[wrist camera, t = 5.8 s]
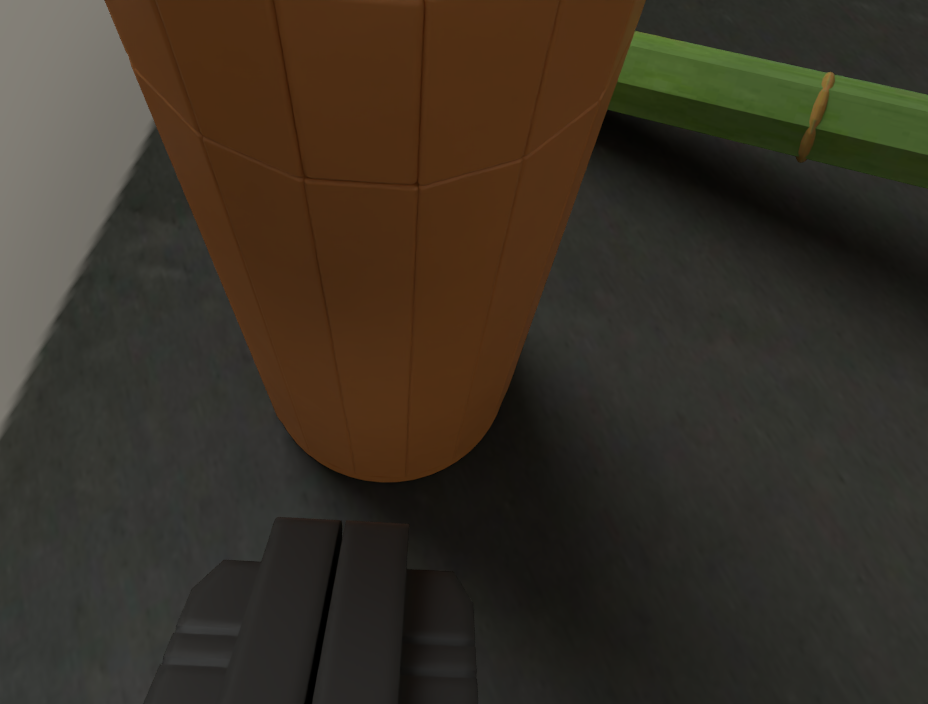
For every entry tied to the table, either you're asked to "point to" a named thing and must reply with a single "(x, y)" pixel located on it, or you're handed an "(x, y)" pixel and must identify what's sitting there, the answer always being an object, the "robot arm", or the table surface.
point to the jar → (380, 195)
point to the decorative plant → (777, 107)
